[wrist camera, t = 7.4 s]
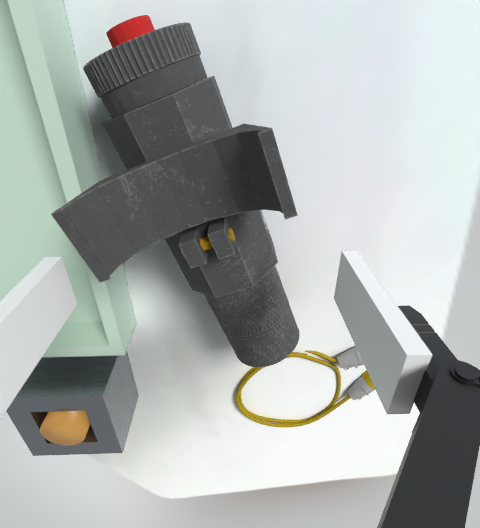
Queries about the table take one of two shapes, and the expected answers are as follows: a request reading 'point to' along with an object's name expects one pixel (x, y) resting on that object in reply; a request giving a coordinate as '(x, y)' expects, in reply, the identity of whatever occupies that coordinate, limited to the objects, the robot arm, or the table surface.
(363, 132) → the table surface
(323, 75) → the table surface
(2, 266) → the tray
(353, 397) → the extension cord
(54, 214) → the laser sight
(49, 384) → the grey square holder
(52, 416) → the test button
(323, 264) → the table surface
